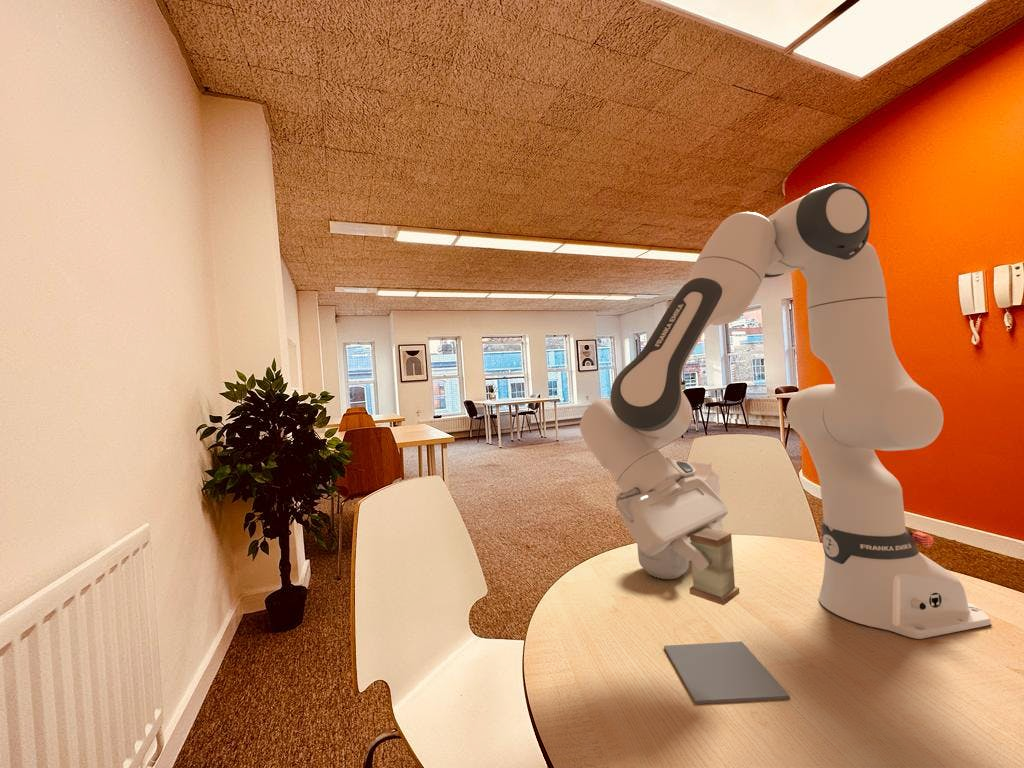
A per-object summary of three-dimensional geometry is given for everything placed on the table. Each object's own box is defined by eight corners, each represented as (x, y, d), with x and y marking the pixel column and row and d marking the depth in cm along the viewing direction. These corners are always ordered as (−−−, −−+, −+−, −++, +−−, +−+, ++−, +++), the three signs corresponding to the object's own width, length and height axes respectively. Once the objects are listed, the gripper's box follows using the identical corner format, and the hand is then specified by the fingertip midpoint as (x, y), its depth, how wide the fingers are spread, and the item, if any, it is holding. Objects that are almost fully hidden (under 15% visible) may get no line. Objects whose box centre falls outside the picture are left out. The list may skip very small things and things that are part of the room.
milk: (711, 564, 97) (704, 466, 97) (686, 557, 102) (679, 463, 102) (725, 556, 100) (718, 462, 101) (700, 550, 105) (693, 459, 106)
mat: (741, 644, 67) (741, 641, 67) (790, 698, 55) (789, 695, 55) (664, 648, 67) (664, 645, 67) (695, 703, 55) (695, 700, 55)
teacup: (634, 564, 99) (631, 529, 99) (681, 562, 99) (679, 527, 99) (651, 593, 85) (648, 552, 86) (706, 590, 85) (703, 549, 85)
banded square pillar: (706, 583, 65) (702, 526, 65) (739, 593, 61) (735, 533, 61) (689, 593, 62) (685, 534, 62) (723, 605, 58) (719, 542, 58)
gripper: (621, 482, 61) (692, 573, 53) (695, 461, 73) (761, 531, 66) (598, 509, 64) (662, 597, 56) (673, 484, 77) (733, 553, 69)
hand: (716, 561), depth 61 cm, fingers closed on banded square pillar, 4 cm apart
